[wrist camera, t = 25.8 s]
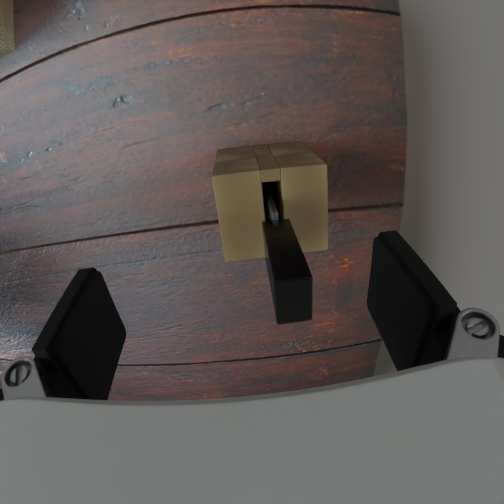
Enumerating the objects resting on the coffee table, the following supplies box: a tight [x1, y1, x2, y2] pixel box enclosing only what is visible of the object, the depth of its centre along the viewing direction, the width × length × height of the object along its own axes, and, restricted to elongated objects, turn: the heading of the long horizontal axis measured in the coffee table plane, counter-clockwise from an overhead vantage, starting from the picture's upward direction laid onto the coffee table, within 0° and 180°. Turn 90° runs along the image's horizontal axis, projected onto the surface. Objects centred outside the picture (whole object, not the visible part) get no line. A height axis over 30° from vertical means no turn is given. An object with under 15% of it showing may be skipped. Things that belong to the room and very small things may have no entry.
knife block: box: [212, 142, 328, 262], centre depth 24 cm, size 7×6×8 cm
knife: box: [261, 182, 312, 324], centre depth 21 cm, size 2×3×16 cm, turn 6°
